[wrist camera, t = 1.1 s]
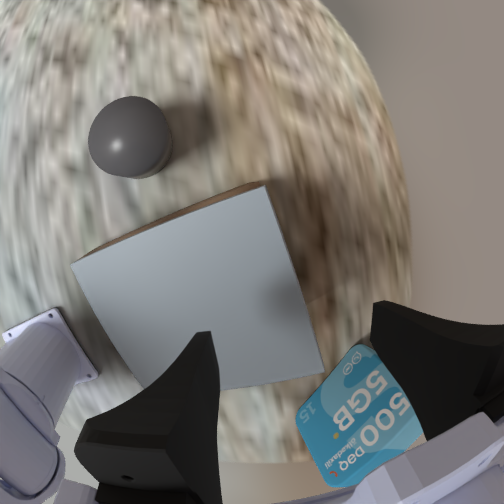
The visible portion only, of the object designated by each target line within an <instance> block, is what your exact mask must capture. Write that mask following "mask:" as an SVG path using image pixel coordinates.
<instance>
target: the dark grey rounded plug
mask: <svg viewBox="0 0 504 504" xmlns="http://www.w3.org/2000/svg"><path fill="white" fill-rule="evenodd" d="M88 145H89V151H90V154H91V157H92V159H93V161H94V162H95V163H96V165H97V166H98V167H99V168H100V169H102V170H103V171H105V172H107V173H109V174H112V175H116V176H122V177H127V178H133V179H143V178H147V177H150V176H152V175H154V174H156V173H157V172H158V171H160V170H161V169H162V168H163V167H164V166H165V164H166V163H167V161H168V159H169V157H170V155H171V151H172V137H171V133H170V131H169V128H168V125H167V123H166V120H165V118H164V115H163V113H162V112H161V110H160V109H159V108H158V106H157V105H155V104H154V103H153V102H151V101H150V100H148V99H145V98H142V97H137V96H129V97H123V98H120V99H117V100H115V101H113V102H111V103H110V104H108V105H107V106H106V107H104V108H103V109H102V110H101V111H100V112H99V114H98V115H97V116H96V118H95V119H94V121H93V123H92V126H91V128H90V132H89V137H88Z"/></svg>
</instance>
